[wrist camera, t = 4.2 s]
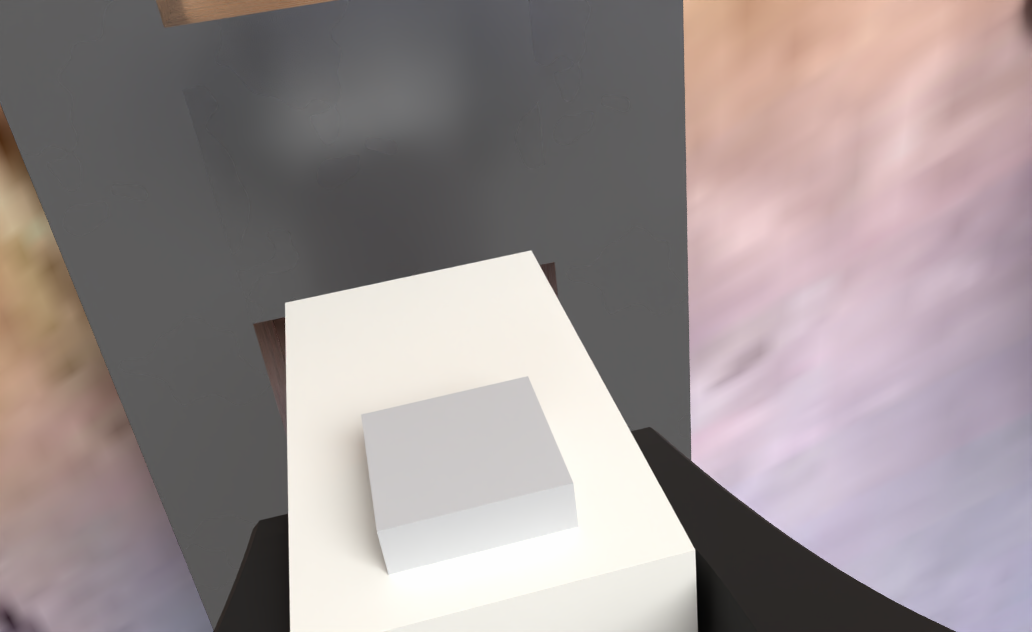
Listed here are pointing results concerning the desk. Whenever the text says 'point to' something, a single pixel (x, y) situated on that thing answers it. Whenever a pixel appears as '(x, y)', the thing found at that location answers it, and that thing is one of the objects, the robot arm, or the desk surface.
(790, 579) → the robot arm
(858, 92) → the desk surface
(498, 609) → the plug
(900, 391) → the desk surface
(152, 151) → the jack panel
